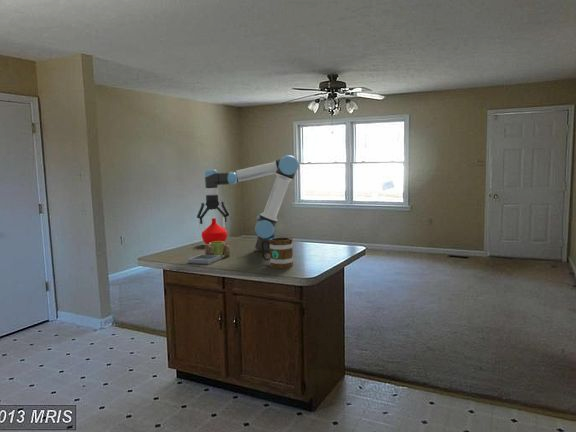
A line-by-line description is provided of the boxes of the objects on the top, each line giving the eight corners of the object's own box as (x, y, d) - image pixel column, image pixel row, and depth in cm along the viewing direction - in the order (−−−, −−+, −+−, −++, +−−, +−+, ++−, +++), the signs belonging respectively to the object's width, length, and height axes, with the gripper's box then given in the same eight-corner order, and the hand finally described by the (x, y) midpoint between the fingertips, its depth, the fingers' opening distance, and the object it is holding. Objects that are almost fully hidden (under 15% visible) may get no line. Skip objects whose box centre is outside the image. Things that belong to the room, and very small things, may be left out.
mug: (298, 264, 255) (297, 237, 253) (286, 269, 243) (285, 241, 241) (268, 261, 264) (267, 236, 263) (255, 266, 253) (254, 239, 251)
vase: (207, 242, 336) (206, 217, 334) (231, 242, 332) (230, 217, 330) (198, 247, 318) (196, 220, 316) (222, 247, 314) (221, 220, 312)
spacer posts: (236, 254, 289) (235, 243, 288) (222, 259, 273) (221, 248, 272) (212, 252, 295) (212, 242, 295) (198, 258, 280) (197, 246, 279)
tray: (221, 259, 273) (220, 255, 273) (208, 264, 260) (208, 260, 260) (201, 258, 278) (201, 254, 278) (188, 263, 265) (187, 259, 265)
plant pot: (212, 258, 278) (211, 244, 277) (207, 255, 286) (207, 242, 285) (227, 256, 282) (226, 242, 281) (222, 254, 291) (221, 240, 290)
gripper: (229, 193, 290) (231, 225, 293) (190, 195, 281) (192, 229, 283) (232, 193, 284) (234, 227, 286) (193, 196, 274) (195, 230, 276)
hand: (213, 228), depth 285 cm, fingers open, 13 cm apart
